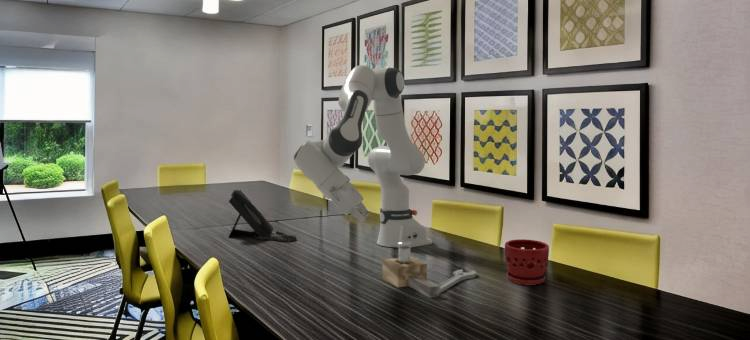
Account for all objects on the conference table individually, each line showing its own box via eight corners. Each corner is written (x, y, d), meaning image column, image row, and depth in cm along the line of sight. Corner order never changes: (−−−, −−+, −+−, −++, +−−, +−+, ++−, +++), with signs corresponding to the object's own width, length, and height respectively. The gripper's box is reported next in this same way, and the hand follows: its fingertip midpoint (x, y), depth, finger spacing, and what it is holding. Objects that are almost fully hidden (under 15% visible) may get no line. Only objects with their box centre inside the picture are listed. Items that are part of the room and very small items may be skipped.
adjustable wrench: (437, 296, 153) (437, 290, 153) (418, 291, 157) (419, 285, 157) (478, 276, 173) (478, 271, 172) (460, 273, 177) (461, 267, 176)
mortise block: (409, 274, 172) (410, 256, 172) (449, 294, 153) (449, 274, 152) (382, 278, 168) (382, 259, 167) (419, 299, 148) (419, 278, 148)
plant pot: (499, 275, 173) (501, 238, 172) (540, 276, 173) (542, 239, 172) (508, 287, 160) (509, 247, 159) (553, 288, 160) (554, 248, 159)
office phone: (295, 242, 217) (295, 193, 215) (223, 243, 214) (223, 193, 212) (298, 228, 246) (298, 184, 244) (234, 229, 243) (234, 184, 241)
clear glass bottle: (406, 271, 168) (406, 240, 167) (414, 275, 164) (414, 243, 164) (394, 273, 166) (394, 241, 165) (401, 277, 162) (401, 244, 162)
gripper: (335, 182, 155) (369, 217, 155) (347, 175, 175) (377, 206, 175) (320, 197, 156) (353, 231, 155) (334, 188, 176) (363, 219, 176)
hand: (366, 218), depth 165 cm, fingers open, 8 cm apart
